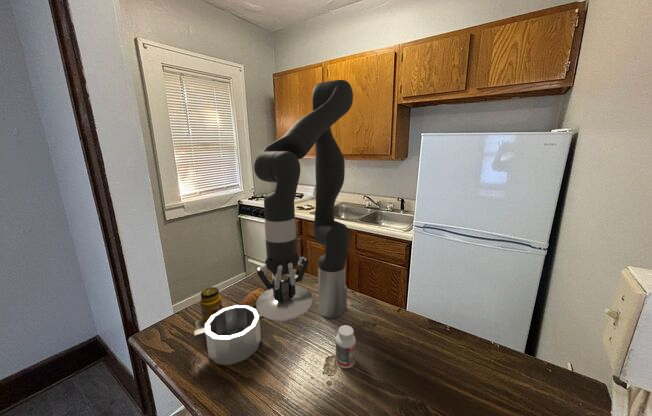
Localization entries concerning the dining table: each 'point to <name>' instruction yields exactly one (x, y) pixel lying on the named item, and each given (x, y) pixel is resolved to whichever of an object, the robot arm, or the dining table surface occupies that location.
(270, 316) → the lid
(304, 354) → the dining table surface
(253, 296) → the pastry
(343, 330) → the pill bottle
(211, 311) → the condiment
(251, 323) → the pot
